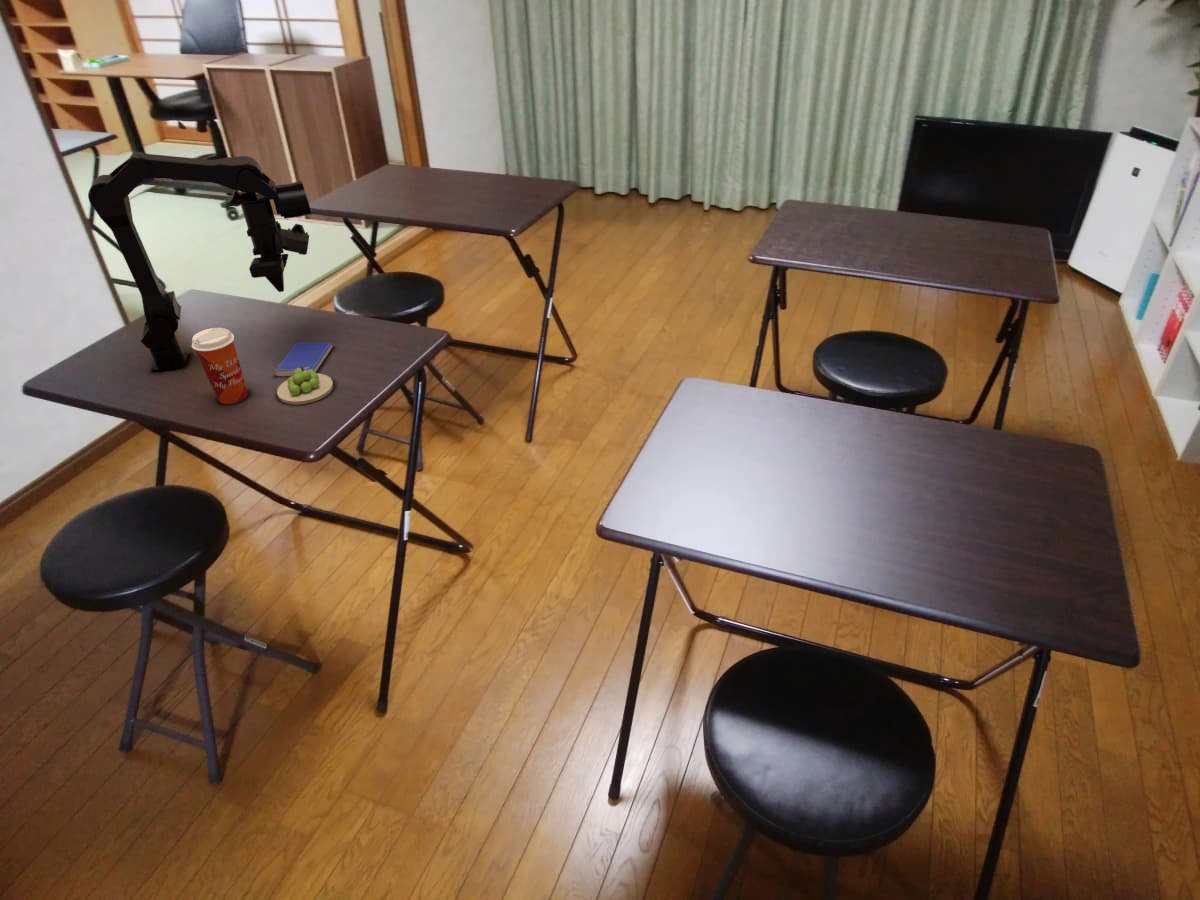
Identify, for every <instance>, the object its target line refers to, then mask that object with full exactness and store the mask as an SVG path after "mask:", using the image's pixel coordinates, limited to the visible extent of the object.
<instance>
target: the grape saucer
mask: <svg viewBox="0 0 1200 900" xmlns="http://www.w3.org/2000/svg"><path fill="white" fill-rule="evenodd" d="M316 374H317V375H318V377H319V380H318V381H319V386H318V387H317V388H311V390H310V391H309V392H303V391H302V390H301V391H300V393H299V394H298V395H292V394H291V393H290V392H289V389H288V382H287V381H288V379H287V380H285V381H283V382H282V383H281V384H280V385H279V386H278V387H277V390H276V395H277V398H278V399H279V401H281V402H282V403H284V404H288V405H297V406H298V405H306V404H310V403H314V402H317V401H319V400H322V399H324V398H326V397H327V396H328V395H329V394H330V393H331V392H332V391H333V389H334V382H333V379H332V378H331V377H330V376H329V375H326V374H324V373H317V372H316ZM299 387H300V386H299Z"/></svg>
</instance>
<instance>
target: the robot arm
mask: <svg viewBox="0 0 1200 900" xmlns="http://www.w3.org/2000/svg"><path fill="white" fill-rule="evenodd" d="M146 178H147V179H148V178H151V179H163V180H174V181H175V180H176V181H188V182H199V183H210V184H214V185H219V186H221V187H224V188H227V189H230V190H233V193H232V194H231V195H230V196H229V205H230V206H235V205H240V207H241V211H242V213H243V217H244V220H245V223H246V227H247V229H246V234H247V237H250V239H251V243H252V246H253V248H252V254H253V256H259V257H254V258H253V260H252V261H251V262H250V265H249V267H248V269H249V272H250V276H251V278H252V279H253V278H254V279H256V278H264V277H265V279H266V280H267V281H268V282H269V283H270V284H271V285H272V286H273V287H274V289H275V290H276V291H277V292H278V293H283V292H284V291H285V282H284V281H285V280H284V279H285V278H284V272H285V268H286V267H287V262H288V259H289V253H284V252H285V251H287V252H292V253H297V254H299V255H302V256H306V255H308V249H309V242H310V235H309V232H308V231H307V232H306V231H305V228H304V225H303V224H300V223H295V224H294V225H293V226H292V228H287V229H285V228H282V225H281V223H280V222H279V221H278V220H276V216H275V213H274V209H273V206H272V203H271V201H273V204H274V207H275V212H276V214H277V216H278V215H280V217H281V218H284V220H287V219H292V218H300V217H307V216H312V210H311V206H310V202H309V198H308V195H307V193H306V191H305V187H304V183H303V181H301V180H299V181H294V182H292V183H283V184H278V185H277V184H276V182H275V181H274V180H273V179H272V178H270V177H269V176H268V175H267V174H266V173H264V171H263V168H262V166H261V165H260V163H259V162H258V161H257V160H256V159H255V158H254V157H251V156H248V155H246V156H245V155H242V156H241V155H240V156H228V157H222V158H218V159H217V158H216V159H206V158H195V157H186V156H185V157H184V156H176V155H175V156H173V155H163V154H152V153H146V152H143V151H135V152H132V154H131V155H130V156H129V157H128V158H127V159H126V160H125V161H123V162H122V163H121V164H120V165H118V166H117V167H116V168H114V170H112V171H111V172H110V173H109V174H101V175H98V176H97V177H95V178H94V180H93V182H92V183H91V185H90V188H89V190H88V194H87V197H88V201H89V204H90V205H91V206H92V208H93V209H94V211H95V212H96V214H97V215H98V216H99V218H100V219H101V220H102V221H103V223H104V224H105V225H106V226H107V227H108V228H109V230H110V231H111V232H112V234H113V237H114V239H115V241H116V243H117V245H118V248H119V250H120V253H121V254H122V256H123V258H124V261H125V263H126V265H127V268H128V269H129V271H130V274H131V277H132V278H133V281H134V283H135V284H136V287H137V289H138V291H139V294H140V296H141V302H142V309H143V313H144V319H145V322H144V323H143V328H142V333H141V338H140V342H141V343H142V345H144V347H145V348H146V349H148V350H149V351H150V354H151V356H152V360H153V361H154V362H153V364H152V366H151V368H150V371H151V372H159V371H168V370H175V369H183V368H184V367H185V366H186V363H187V360H188V359H189V355H190V354H189V352H188V351H185V352H183V351H182V349H181V346H180V343H179V341H178V339H177V336H176V334H175V333H177V330H178V328H179V323H180V322H179V321H180V320H181V312H182V306H181V305H180V304H179V303H178V301H177V298H176V292H175V291H174V290H172V291H169V292H168V291H166V290H165V289H164V288H163V286H162V285H161V283H160V281H159V278H158V276H157V273H156V271H155V268H154V267H153V264H152V262H151V260H150V258H149V255H148V252H147V250H146V249H145V245H144V244H143V241H142V239H141V236H140V233H139V232H138V230H137V228H136V225H135V223H134V220H133V213H132V207H131V201H130V197H129V196H130V194H131V193H132V192H133V191H134V190H135V189H136V188H137V187H138V186H139V185H140V183H141V182H142V181H144V180H145V179H146Z"/></svg>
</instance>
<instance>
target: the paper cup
mask: <svg viewBox="0 0 1200 900" xmlns="http://www.w3.org/2000/svg"><path fill="white" fill-rule="evenodd" d="M234 340H235V336H234V334H233V333H232V332H231V330H228V329H227V328H224V327H211V328H207V329H203V330H200V331H199V332H197V333H195V334H194V335H193V336H192V339H191V348H192V349H193V350H195V352H196V355H197V357H198V359H199V361H200V364H201V367H202V368H203V371H204V373H205V375H206V377H207V379H208V381H209V383H210V386H211V388H212V390H213V391H214V394H215V396H216V398H217V400H218V402H219V403H221V404H224V405H233V404H236V403H239V402H241V401H244V399H246V398H247V397H248V390H247V386H246V381H245V377H244V374H243V369H242V367H241V364H240V360H239V356H238V353H237V350H236V349H237V348H236V345H235V342H234Z"/></svg>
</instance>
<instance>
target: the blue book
mask: <svg viewBox="0 0 1200 900" xmlns="http://www.w3.org/2000/svg"><path fill="white" fill-rule="evenodd" d="M332 349H333V344H332V342H329V341H328V342H319V341H316V342H315V341H314V342H313V341H312V342H311V341H309V342H307V341H306V342H304V341H303V342H302V341H301V342H300V341H299V342H295V344H294V345H293V346H292V348H290V351H289V352H288V353H287V354H286V355H285V357H284V358H283V359H282V360H281V362H280V363H279V365H277V367H276V368H275V370H274V374H275V376H276V377H291V376H293V371H294V370H295V369H301V366H303V369H304V370H307V371H308V370H314V371H315V372H316V373H317V371H318V370H319V368H320V366H321V365H322V364H323V362H324V360H325V359H326V358H327V357H328V355H329V354H330V352H331V350H332Z"/></svg>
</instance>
